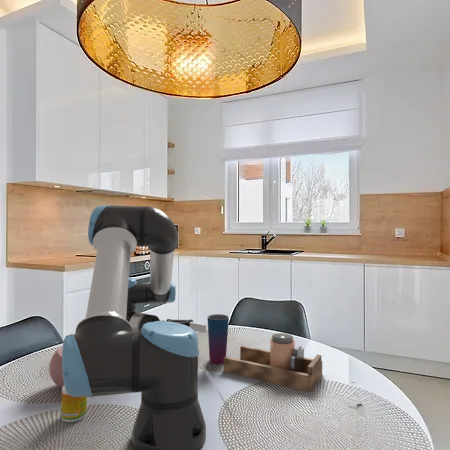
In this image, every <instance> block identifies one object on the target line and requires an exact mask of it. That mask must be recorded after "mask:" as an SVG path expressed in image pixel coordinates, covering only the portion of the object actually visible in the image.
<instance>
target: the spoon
mask: <svg viewBox="0 0 450 450" xmlns="http://www.w3.org/2000/svg"><path fill="white" fill-rule="evenodd" d="M350 384H356V382H355V381H351V382H350ZM353 394H354V395H355V397H356V398H359V397H360V395H359V394H360V392H355V391H353ZM356 406H357V415H358V414H359V415H360V416H361V417H362V416H363V417H365V415H366V416H367V414H366V411H365V409H364V407H363V404H362V403H357V404H356Z"/></svg>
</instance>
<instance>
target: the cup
mask: <svg viewBox="0 0 450 450" xmlns="http://www.w3.org/2000/svg"><path fill="white" fill-rule="evenodd" d="M229 318H230V317H229V316H228V315H227V314H221V313H217V314H216V313H214V314H210V315H208V316H207V333H208V350H209V351H208V354H209V355H208V356H209V363H211V364H214V365H221V364H222V365H224V357H227V347H228V334H229V321H230V320H229Z"/></svg>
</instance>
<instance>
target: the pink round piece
mask: <svg viewBox="0 0 450 450" xmlns="http://www.w3.org/2000/svg"><path fill="white" fill-rule="evenodd" d="M62 348H63V347H60V348H58V349H56V351H55V352H54V354H53V355H52V356H51V359H50V361H49V368H48V369H49V370H48V372H49V375H50V378H51V380H52V382H53V383H54V384H55V385H56V386H58V388H59V387H60V388H61V389H62V387H63V386H64V381H63V371H62Z"/></svg>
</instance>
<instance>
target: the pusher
mask: <svg viewBox="0 0 450 450" xmlns="http://www.w3.org/2000/svg"><path fill="white" fill-rule="evenodd" d="M304 357H305V348H304V347H302V345H301V344H297V345H295V348H294V355H293V356H292V357H291V371H296V372H301V373H303V372H304Z"/></svg>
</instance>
